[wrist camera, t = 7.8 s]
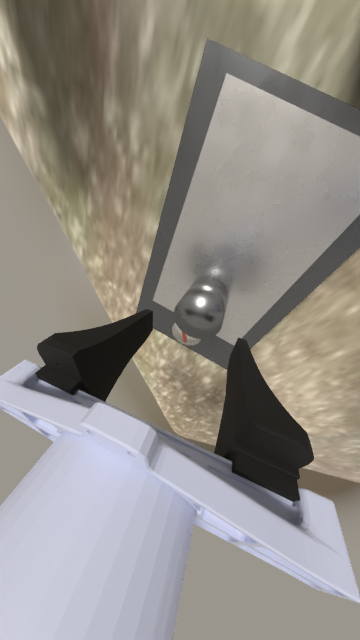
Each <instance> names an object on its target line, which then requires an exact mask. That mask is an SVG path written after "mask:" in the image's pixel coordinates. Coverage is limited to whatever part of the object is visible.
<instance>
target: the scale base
mask: <svg viewBox="0 0 360 640" xmlns="http://www.w3.org/2000/svg"><path fill="white" fill-rule="evenodd" d="M226 73H228V74H230V75H232V76H234V77H236V78H238V79H240V80H242V81H244V82H246V83H249V84H251V85H253V86H255V87H257V88H259V89H261V90H263V91H265V92H267V93H270V94H272V95H274V96H276V97H278V98H280V99H282V100H284V101H286V102H288V103H291V104H293V105H295V106H297V107H299V108H301V109H303V110H305V111H307V112H309V113H312V114H314V115H316V116H318V117H320V118H322V119H324V120H326V121H328V122H330V123H332V124H335V125H337V126H339V127H341V128H343V129H345V130H347V131H349V132H351V133H353V134H356V135H358V136H360V110H359V109H357V108H355V107H353V106H351V105H349V104H347V103H344V102H342V101H340V100H338V99H336V98H334V97H332V96H330V95H327V94H325V93H323V92H321V91H319V90H317V89H315V88H312V87H310V86H308V85H306V84H304V83H302V82H300V81H298V80H295V79H293V78H291V77H289V76H287V75H285V74H283V73H280V72H278V71H276V70H274V69H272V68H270V67H268V66H266V65H263V64H261V63H259V62H257V61H255V60H253V59H251V58H249V57H246V56H244V55H242V54H240V53H238V52H236V51H234V50H231V49H229V48H227V47H225V46H223V45H221V44H219V43H217V42H214V41H212V40H210V39H208V38H207V41H206V45H205V49H204V53H203V56H202V60H201V64H200V68H199V72H198V76H197V80H196V83H195V87H194V91H193V95H192V99H191V103H190V107H189V111H188V114H187V118H186V122H185V126H184V130H183V134H182V138H181V142H180V145H179V149H178V153H177V157H176V161H175V165H174V169H173V172H172V176H171V180H170V184H169V188H168V192H167V196H166V200H165V203H164V207H163V211H162V215H161V219H160V223H159V227H158V230H157V234H156V238H155V242H154V246H153V250H152V254H151V258H150V261H149V265H148V269H147V273H146V277H145V281H144V285H143V288H142V292H141V296H140V300H139V304H138V308H137V312H136V313H138V312H141V311H143V310H145V309H148V310H152V311H153V328H155V329H156V330H158V331H160V332H162V333H163V334H165V335H167V336H169V337H171V338H172V339H174V340H176V341H178V342H179V343H181V344H183V345H185V346H186V347H188V348H190V349H192V350H194V351H195V352H197V353H199V354H201V355H202V356H204V357H206V358H208V359H209V360H211V361H213V362H215V363H217V364H218V365H220V366H222V367H224V368H225V369H227V370H228V363H229V358H230V355H231V352H232V350H233V348H234V345H232V344H230V343H228V342H227V341H225V340H223V339H221V338H219V337H218V336H216V335H215V336H213V337H211V338H208V339H196V338H192V337H190V336H188V335H186V334H185V333H183V332H182V331H181V330H180V329H179V328H178V326H177V325H176V323H175V320H174V312H173V311H171V310H169V309H167V308H165V307H164V306H162V305H160V304H158V303H156V302H155V301H153V298H154V295H155V292H156V289H157V285H158V282H159V279H160V276H161V273H162V270H163V267H164V264H165V261H166V258H167V255H168V252H169V249H170V245H171V242H172V239H173V236H174V233H175V230H176V227H177V224H178V221H179V218H180V215H181V212H182V209H183V205H184V202H185V199H186V196H187V193H188V190H189V187H190V184H191V181H192V178H193V175H194V172H195V169H196V165H197V162H198V159H199V156H200V153H201V150H202V147H203V144H204V141H205V138H206V135H207V132H208V129H209V125H210V122H211V119H212V116H213V113H214V110H215V107H216V104H217V101H218V98H219V95H220V92H221V89H222V86H223V82H224V79H225V76H226ZM359 247H360V215H359V216H358V217H357V218H356V219H355V220H354V221H353V222H352V223H351V224H350V225H349V226H348V227H347V228H346V229H345V230H344V231H343V233H342V234H341V235H340V236H339V237H338V238H337V239H336V240H335V241H334V242H333V243H332V244H331V245H330V246H329V247H328V248H327V249H326V250H325V251H324V252H323V253H322V255H321V256H320V257H319V258H318V259H317V260H316V261H315V262H314V263H313V264H312V265H311V266H310V267H309V268H308V269H307V270H306V271H305V272H304V273H303V274H302V275H301V277H300V278H299V279H298V280H297V281H296V282H295V283H294V284H293V285H292V286H291V287H290V288H289V289H288V290H287V291H286V292H285V293H284V294H283V295H282V296H281V297H280V299H279V300H278V301H277V302H276V303H275V304H274V305H273V306H272V307H271V308H270V309H269V310H268V311H267V312H266V313H265V314H264V315H263V316H262V317H261V318H260V319H259V321H258V322H257V323H256V324H255V325H254V326H253V327H252V328H251V329H250V330H249V331H248V332H247V333H246V334H245V335H244V336H243V337H242V338H241V339H245V340H247V342H248V345H249V348H252V347H253V346H254V345H255V344H256V343H257V342H258V341H259V340H260V339H261V338H262V337H263V336H264V335H266V334H267V333H268V332H269V331H270V330H271V329H272V328H273V327H274V326H275V325H276V324H277V323H278V322H280V321H281V320H282V319H283V318H284V317H285V316H286V315H287V314H288V313H289V312H290V311H291V310H293V309H294V308H295V307H296V306H297V305H298V304H299V303H300V302H301V301H302V300H303V299H304V298H305V297H307V296H308V295H309V294H310V293H311V292H312V291H313V290H314V289H315V288H316V287H317V286H318V285H319V284H321V283H322V282H323V281H324V280H325V279H326V278H327V277H328V276H329V275H330V274H331V273H332V272H333V271H335V270H336V269H337V268H338V267H339V266H340V265H341V264H342V263H343V262H344V261H345V260H346V259H348V258H349V257H350V256H351V255H352V254H353V253H354V252H355V251H356V250H357V249H358V248H359Z"/></svg>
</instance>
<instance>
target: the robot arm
mask: <svg viewBox="0 0 360 640" xmlns="http://www.w3.org/2000/svg"><path fill="white" fill-rule="evenodd" d="M152 330H153V311H152V310H148V309H145V310H143V311H141V312H138V313H136V314H134V315H132V316H129V317H127V318H125V319H122V320H119V321H117V322H114V323H111V324H108V325H104V326H101V327H96V328H92V329H88V330H81V331H74V332H65V333H55V334H53V335H52V336H50V337H48V338H47V339H45V340H44V341H42V342H41V343H39V344H38V346H37V350H38V352H39V354H40V356H41V357H42V359H43V361H44V362H45V364H46V365H45V366H44V367H42V368H41V367H40V366H39V365H37V364H35V363H33V362H30V361H28V360H24V361H23V362H21V363H20V364H18V365H17V366H15V367H14V368H12V369H11V370H9V371H8V372H6V373H5V374H3V375H2V376H0V408H1V409H2V410H3V411H5V412H7V413H8V414H10V415H12V416H13V417H15V418H17V419H18V420H20V421H22V422H23V423H25V424H26V425H28V426H30V427H31V428H33V429H34V430H36V431H38V432H39V433H41V434H42V435H44V436H45V437H47V438H49V439H50V440H52V441H53V442H54V443H53V444H52V445H51V446H50V448H49V449H48V450H47V451H46V452H45V453H44V455H43V456H42V457H41V458H40V459H39V461H38V462H37V463H36V464H35V465H34V467H33V468H32V469H31V470H30V471H29V473H28V474H27V475H26V476H25V477H24V478H23V480H22V481H21V482H20V483H19V485H18V486H17V487H16V488H15V489H14V490H13V492H12V493H11V494H10V495H9V497H8V498H7V499H6V500H5V501H4V502H3V503H2V505H1V506H0V640H173V634H174V629H175V623H176V617H177V612H178V607H179V600H180V595H181V590H182V585H183V579H184V573H185V568H186V562H187V557H188V551H189V546H190V540H191V535H192V529H193V524H195V525H197V526H200V527H201V528H203V529H205V530H207V531H209V532H211V533H213V534H215V535H217V536H218V537H220V538H222V539H224V540H226V541H228V542H230V543H232V544H234V545H235V546H237V547H239V548H241V549H243V550H245V551H247V552H249V553H251V554H253V555H255V556H256V557H258V558H260V559H262V560H264V561H266V562H268V563H269V564H271V565H273V566H275V567H277V568H279V569H280V570H282V571H284V572H286V573H288V574H290V575H291V576H293V577H295V578H297V579H298V580H300V581H302V582H304V583H306V584H307V585H309V586H311V587H313V588H314V589H317V590H320V591H323V592H327V593H330V594H332V595H336V596H339V597H342V598H345V599H348V600H352V601H355V602H358V603H360V595H359V591H358V587H357V584H356V580H355V576H354V573H353V569H352V566H351V562H350V559H349V555H348V552H347V548H346V545H345V541H344V537H343V534H342V531H341V528H340V523H339V520H338V516H337V513H336V509H335V505H334V503H333V502H332V501H331V500H329V499H327V498H325V497H323V496H321V495H319V494H316V493H314V492H312V491H310V490H308V489H305V488H298V484H297V479H299V478H300V475H299V470H298V469H299V468H301V467H304V466H306V465H308V464H310V463H311V462H312V461H313V459H314V455H313V451H312V447H311V443H310V440H309V437H308V434H307V433H306V431H305V430H304V429H303V428H302V427H301V426H300V425H299V424H298V423H297V422H296V421H295V420H294V419H293V418H292V416H291V415H290V414H289V413H288V412H287V410H286V409H285V408H284V407H283V406H282V404H281V403H280V402H279V401H278V399H277V398H276V396H275V395H274V394H273V392H272V391H271V390H270V388H269V387H268V385H267V383H266V382H265V380H264V378H263V377H262V375H261V373H260V371H259V369H258V367H257V365H256V363H255V360H254V358H253V356H252V353H251V351H250V348H249V345H248V342H247V340H245V339H241V338H238V339H237V341H236V344H235V346H234V348H233V350H232V352H231V355H230V358H229V363H228V370H227V384H226V396H225V402H224V408H223V413H222V419H221V424H220V429H219V433H218V438H217V443H216V448H215V452H214V453H212V452H210V451H208V450H206V449H204V448H202V447H200V446H198V445H195V444H193V443H191V442H189V441H187V440H185V439H182V438H181V437H178V436H176V435H174V434H172V433H170V432H168V431H166V430H164V429H161V428H159V427H157V426H155V425H153V424H151V423H149V422H147V421H144V420H142V419H140V418H138V417H136V416H134V415H132V414H129V413H127V412H125V411H123V410H121V409H119V408H117V407H115V406H113V405H110V404H108V403H106V402H105V401H106V398H107V397H108V395H109V393H110V392H111V390H112V388H113V386H114V384H115V383H116V381H117V379H118V378H119V376H120V375H121V373H122V371H123V369H124V368H125V367H126V365H127V363H128V362H129V361H130V359H131V358H132V357H133V355H134V354H135V353H136V352H137V350H138V349H139V348H140V347H141V346H142V344H143V343H144V342H145V341H146V339H147V338H148V336H149V335H150V333H151V331H152Z"/></svg>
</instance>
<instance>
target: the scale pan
mask: <svg viewBox="0 0 360 640" xmlns="http://www.w3.org/2000/svg"><path fill="white" fill-rule="evenodd" d="M359 215H360V136H358V135H356V134H353V133H351V132H349V131H347V130H345V129H343V128H341V127H339V126H337V125H335V124H332V123H330V122H328V121H326V120H324V119H322V118H320V117H318V116H316V115H314V114H312V113H309V112H307V111H305V110H303V109H301V108H299V107H297V106H295V105H293V104H291V103H288V102H286V101H284V100H282V99H280V98H278V97H276V96H274V95H272V94H270V93H267V92H265V91H263V90H261V89H259V88H257V87H255V86H253V85H251V84H249V83H246V82H244V81H242V80H240V79H238V78H236V77H234V76H232V75H230V74H228V73H226V76H225V79H224V82H223V86H222V89H221V92H220V95H219V98H218V101H217V104H216V107H215V110H214V113H213V116H212V119H211V122H210V125H209V129H208V132H207V135H206V138H205V141H204V144H203V147H202V150H201V153H200V156H199V159H198V162H197V165H196V169H195V172H194V175H193V178H192V181H191V184H190V187H189V190H188V193H187V196H186V199H185V202H184V205H183V209H182V212H181V215H180V218H179V221H178V224H177V227H176V230H175V233H174V236H173V239H172V242H171V245H170V249H169V252H168V255H167V258H166V261H165V264H164V267H163V270H162V273H161V276H160V279H159V282H158V285H157V289H156V292H155V295H154V298H153V301H155V302H156V303H158V304H160V305H162V306H164V307H165V308H167V309H169V310H171V311H173V312H174V309H175V307H176V305H177V304H178V302H179V301H180V300H181V298H182V297H183V296H184V294H185V293H186V292H187V290H188V289H189V288H190V286H191V285H192V284H193V283H194V282H195V281H196V280H197V279H199V278H201V277H205V276H211V277H215V278H217V279H219V280H221V281H222V282H223V283H224V284H225V285H226V287H227V289H228V293H229V299H228V303H227V307H226V312H225V316H224V320H223V324H222V328H221V330H220V331H219V332H218V333H217V334H216V336H218V337H219V338H221V339H223V340H225V341H227V342H228V343H230V344H232V345H234V346H235V344H236V341H237V339H238V338H242V337H243V336H244V335H245V334H246V333H247V332H248V331H249V330H250V329H251V328H252V327H253V326H254V325H255V324H256V323H257V322H258V321H259V319H260V318H261V317H262V316H263V315H264V314H265V313H266V312H267V311H268V310H269V309H270V308H271V307H272V306H273V305H274V304H275V303H276V302H277V301H278V300H279V299H280V297H281V296H282V295H283V294H284V293H285V292H286V291H287V290H288V289H289V288H290V287H291V286H292V285H293V284H294V283H295V282H296V281H297V280H298V279H299V278H300V277H301V275H302V274H303V273H304V272H305V271H306V270H307V269H308V268H309V267H310V266H311V265H312V264H313V263H314V262H315V261H316V260H317V259H318V258H319V257H320V256H321V255H322V253H323V252H324V251H325V250H326V249H327V248H328V247H329V246H330V245H331V244H332V243H333V242H334V241H335V240H336V239H337V238H338V237H339V236H340V235H341V234H342V233H343V231H344V230H345V229H346V228H347V227H348V226H349V225H350V224H351V223H352V222H353V221H354V220H355V219H356V218H357V217H358V216H359Z"/></svg>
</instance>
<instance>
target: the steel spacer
mask: <svg viewBox="0 0 360 640" xmlns="http://www.w3.org/2000/svg"><path fill="white" fill-rule="evenodd" d="M228 299H229V293H228V289H227V287H226V285H225V284H224V283H223V282H222V281H221V280H219V279H217V278H215V277H211V276H205V277H201V278H199V279H197V280H196V281H195V282H194V283H193V284H192V285H191V286H190V288H189V289H188V290H187V292H186V293H185V294H184V296H183V297H182V298H181V300H180V301H179V302H178V304H177V305H176V307H175V309H174V320H175V323H176V325H177V326H178V328H179V329H180V330H181V331H182V332H183V333H185V334H186V335H188V336H190V337H192V338H196V339H208V338H211V337H213V336H215V335H216V334H217V333H218V332H219V331H220V330H221V328H222V324H223V320H224V316H225V312H226V307H227V303H228Z"/></svg>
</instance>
